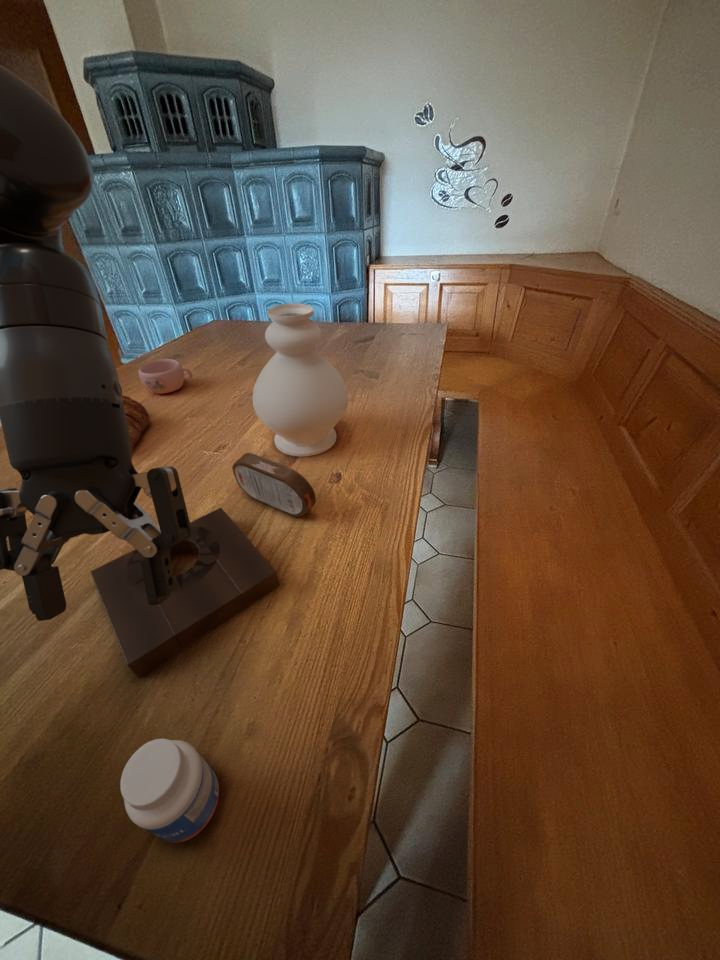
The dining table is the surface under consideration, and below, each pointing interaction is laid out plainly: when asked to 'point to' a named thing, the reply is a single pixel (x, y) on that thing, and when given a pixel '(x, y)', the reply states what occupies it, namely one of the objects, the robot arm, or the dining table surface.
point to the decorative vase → (298, 385)
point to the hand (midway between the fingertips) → (107, 608)
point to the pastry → (135, 419)
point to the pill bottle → (169, 789)
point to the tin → (274, 484)
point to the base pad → (183, 592)
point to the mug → (163, 375)
